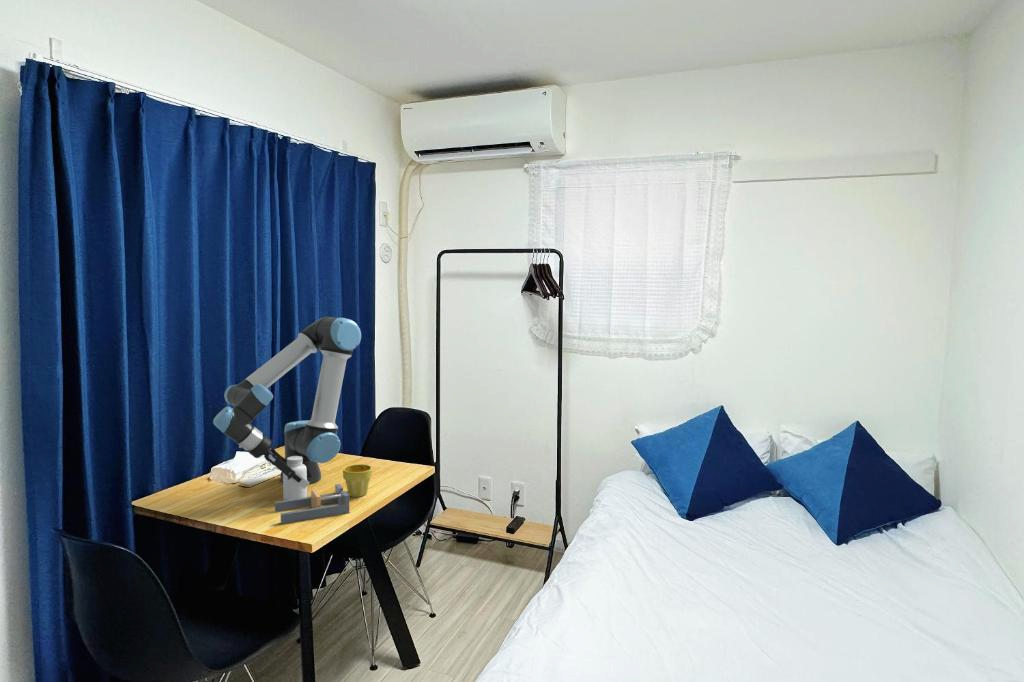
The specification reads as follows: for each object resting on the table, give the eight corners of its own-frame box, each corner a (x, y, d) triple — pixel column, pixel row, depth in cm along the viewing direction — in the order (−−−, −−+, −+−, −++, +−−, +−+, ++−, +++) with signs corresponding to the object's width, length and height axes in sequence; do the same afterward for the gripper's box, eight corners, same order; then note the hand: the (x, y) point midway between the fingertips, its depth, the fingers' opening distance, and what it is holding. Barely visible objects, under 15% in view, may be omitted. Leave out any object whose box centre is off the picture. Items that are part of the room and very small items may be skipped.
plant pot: (339, 498, 210) (339, 472, 209) (347, 489, 221) (347, 463, 220) (368, 499, 211) (368, 472, 210) (374, 489, 221) (374, 464, 220)
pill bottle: (286, 495, 212) (286, 454, 211) (309, 495, 213) (309, 454, 212) (280, 503, 205) (279, 461, 203) (303, 503, 205) (303, 461, 204)
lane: (281, 524, 187) (281, 505, 186) (274, 510, 198) (274, 493, 197) (349, 512, 197) (349, 495, 197) (339, 500, 209) (339, 483, 208)
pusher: (316, 514, 194) (316, 497, 194) (311, 506, 202) (311, 489, 201) (347, 509, 199) (348, 492, 199) (341, 501, 207) (341, 484, 206)
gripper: (243, 443, 209) (289, 480, 219) (251, 460, 190) (302, 499, 199) (259, 427, 212) (304, 464, 221) (269, 442, 192) (318, 482, 201)
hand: (303, 481), depth 210 cm, fingers open, 11 cm apart
